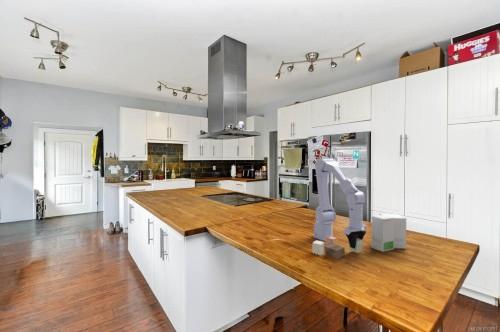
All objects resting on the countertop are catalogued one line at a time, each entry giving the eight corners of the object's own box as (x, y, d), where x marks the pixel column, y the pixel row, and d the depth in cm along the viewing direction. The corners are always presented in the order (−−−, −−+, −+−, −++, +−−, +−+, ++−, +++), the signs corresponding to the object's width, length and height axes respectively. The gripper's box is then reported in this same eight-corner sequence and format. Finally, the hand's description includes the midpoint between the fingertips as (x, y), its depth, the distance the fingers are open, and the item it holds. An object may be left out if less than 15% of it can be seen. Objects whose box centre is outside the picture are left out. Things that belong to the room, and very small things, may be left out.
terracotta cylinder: (324, 246, 114) (324, 237, 114) (329, 245, 117) (329, 235, 116) (331, 249, 111) (331, 239, 111) (336, 247, 113) (336, 237, 113)
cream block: (312, 253, 107) (312, 242, 107) (316, 250, 110) (316, 240, 110) (320, 255, 105) (320, 244, 104) (324, 252, 108) (324, 242, 107)
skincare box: (382, 252, 107) (383, 219, 106) (370, 247, 113) (370, 216, 112) (394, 249, 110) (394, 217, 110) (381, 244, 116) (382, 214, 116)
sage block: (349, 249, 107) (349, 238, 107) (353, 247, 110) (354, 237, 109) (357, 252, 104) (357, 241, 104) (362, 250, 106) (362, 239, 106)
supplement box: (397, 242, 119) (397, 213, 119) (406, 249, 110) (407, 218, 110) (378, 241, 121) (379, 213, 120) (386, 248, 112) (387, 217, 111)
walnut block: (325, 255, 105) (325, 246, 105) (332, 251, 109) (332, 243, 109) (337, 259, 100) (337, 250, 100) (344, 256, 104) (344, 247, 104)
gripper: (354, 222, 99) (354, 253, 100) (372, 217, 107) (372, 245, 108) (340, 218, 105) (340, 247, 105) (358, 214, 113) (358, 241, 113)
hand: (355, 246), depth 107 cm, fingers closed on sage block, 4 cm apart
